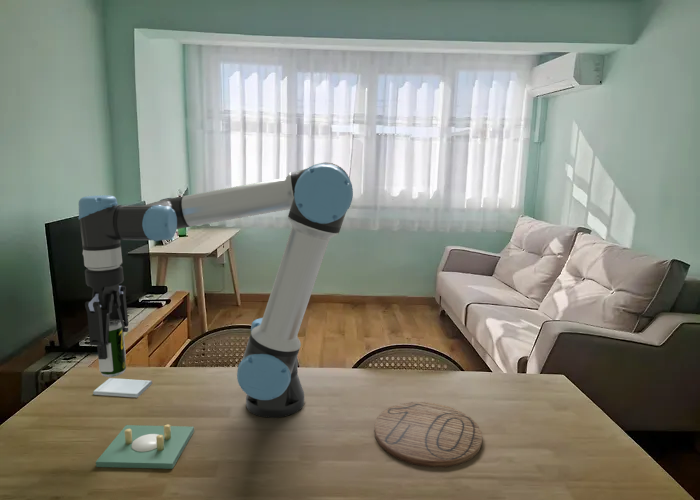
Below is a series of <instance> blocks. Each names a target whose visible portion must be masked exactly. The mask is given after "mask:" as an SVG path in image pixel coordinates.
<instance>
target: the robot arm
mask: <svg viewBox="0 0 700 500" xmlns="http://www.w3.org/2000/svg"><path fill="white" fill-rule="evenodd" d="M353 195H354V189H353V184H352V182H351V179H350V177H349V175H348V173H347V172H346V171H345V169H344V168H342V167H341V166H339V165H338V164H335V163H333V162H318V163H316V164H313V165H311V166H308V167H307V168H305V169H301V170H300V169H299V170H297V171H296V170H295V171H290V172H288V174H287V176H285V177H281V178H276V179H271V180H265V181H260V182H254V183H249V184H248V183H247V184H244V185H238V186H232V187H231V186H230V187H226V188H221V189H216V190H208V191H205V192H198V193H193V194H189V195H188V194H187V195H184V196H177V197H166V198H162V199H160V200H158V201H154V202H151V203H147V204H144V205H122V204H119V203H118V199H117V198H116V196H114V195H109V194H108V195H107V194H106V195H105V194H104V195H101V194H100V195H87V196H83V197H81V198H80V199H79V200H78V221H79V226H80V234H81V236H80V237H81V242H82V243H81V244H82V256H83V265H84V267H86V269H85V270H84V276H85V277H84V278H85V285H87V287H90V288H91V289H92V296H91V298H92V299H91V300H90V301H85V303H84V306H85V310H86V315H87V326H88V336H89V337H88V338H89V345H90V346H95V347H96V348H97V349H96V350H97V358H98V370H99V372H100V373H101V372H112V371H113V361H112V351H111V343H108V336H109V319H118V320H120V321H121V324H122V328H123V339H124V340H125V333H128V332H129V317H128V306H127V297H126V293H127V287H126V285H120V284H122V283H123V282H124V281H125V278H124V267H123V266H122V264H123V256H122V255H123V254H122V245H121V241H153V242H159V241H168V240H172V239H173V238H174V237H175V235H176V233H177V230H179V229H185V228H191V227H195V226H201V225H206V224H212V223H218V222H224V221H230V220H235V219H241V218H248V217H254V216H259V215H264V214H265V215H266V214H269V213H277V212H282V211H288V210H289V212H288V215H287V218H288V220H289V223H290V225H291V229H290V232H289V234H288V238H287V241H286V245H285V248H284V251H283V254H282V257H281V259H280V263H279V266H278V269H277V272H276V275H275V279H274V282H273V284H272V289H271V291H270V295H269V297H268V301H267V303H266V307H265V310H264V313H263V316H262V317H259V318H256V319H254V320H253V321H251V327H250V334H249V338H248V341H247V344H246V348H245V350H244V353H243V356H242V359H241V361H240V362H239V364H238V365H237V369H236V371H237V373H236V380H237V383H238V386H239V387H240V389H241V390H242V391H243V392H244V393H245V395H246V396H245V405H246V409H247V411H249V412H250V413H251V414H253V415H255V416H257V417H261V418H274V419H275V418H282V417H283V418H284V417H287V416H290V415H293V414H296V413H297V412H298V411H300V410H301V409H302V408H303V407H304V405H305V392H304V388H303V385H302V383H301V380H300V378H299V374H298V368H299V367H298V354H299V353H300V348H301V346H302V343H301V341H300V339H299V337H298V334H299V331H300V328H301V326H302V325H301V324H302V322H303V319H304V316H305V313H306V310H307V307H308V304H309V302H310V298H311V297H312V296H311V295H312V293H313V291H314V287H315V284H316V280H317V278H318V275H319V272H320V269H321V266H322V264H323V263H322V262H323V260H324V257H325V254H326V251H327V248H328V245H329V242H330V240H331V239H332V238H333V237H335V236H337V235H339V234H340V232H341V228H342V226H343V222H344V220H345V216H346V213H347V212H348V210H349V209H350V207H351V205H352V203H353ZM124 349H125V350H126V343H125V341H124ZM125 360H127V353H126V352H125Z"/></svg>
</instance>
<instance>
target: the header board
mask: <svg viewBox="0 0 700 500" xmlns="http://www.w3.org/2000/svg"><path fill="white" fill-rule="evenodd" d="M194 432H195V426H184V425H183V426H181V425H180V426H179V425H171V424H165V425H138V424H137V425H136V424H135V425H133V424H126V425H125V426H124V427H123V428H122V430H120V432H119V433H118V434H117V436H115V438H114V439H113V440H112V442H111V443H110V444H109V445H108V446H107V447H106V449H105V450H104V451H102V452H103V453H102V454H101V455H100V456H99V457H98V458H97V460H95V467H96V468H121V469H122V468H124V469H126V468H130V469H132V468H133V469H165V470H166V469H168V470H169V469H170V470H172V469H174V467H175V466H176V464H177V462H178V460H179V458H180V456H181V455H182V453H183V451H184V449H185V448H186V446H187V445H188V443H189V441H190V439H191V437H192V436H193V434H194Z"/></svg>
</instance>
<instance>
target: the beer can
mask: <svg viewBox="0 0 700 500" xmlns="http://www.w3.org/2000/svg"><path fill="white" fill-rule="evenodd" d="M123 333H124V332H123V328H122V324H121V321H120V320H118V319H109V336H108V343H111V351H112V361H113V371H112V372H100V374H101V375H102V376H103V377H105V378H106V377H107V378H115V377H117V376H121V375H123V374H124V373H125V372H126V370H127V361H126V360H127V359H126V360H125V353H126V348H125V349H124V342H125V338H124V339H123Z"/></svg>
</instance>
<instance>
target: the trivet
mask: <svg viewBox="0 0 700 500" xmlns="http://www.w3.org/2000/svg"><path fill="white" fill-rule="evenodd" d="M482 433H483V432H482V430H481V428H480V427H479V424H478V423H477V422H475V420H473V418H471V417H470V416H468V414H466V413H464V412H462V411H460V410H457V409H455V408H454V407H450V406H446V405H444V404H439V403H434V402H426V401H420V402H417V401H414V402H413V401H411V402H405V403H400V404H396V405H392V406H390V407H388V408H386V409H385V410H384V411H382V412H381V413H380V414H379V415H378V416H377V418H376V419H375V423H374V436H375V437H374V438H375V440H376V442H377V443H378V445H379V446H380V447H381V449H383V450H384V451H385V452H386V453H387V454H389V455H390V456H392V457H394V458H396V459H398V460H399V461H401V462H404V463H407V464H412V465H414V466H420V467H426V468H450V467H455V466H461V465H463V464H464V463H467V462H469V461H471V460H472V459H473V458H474V457H476V456H477V455H478V454H479V453H480V450H481V448H482V446H483V445H482V443H483V437H482V436H483V435H482Z"/></svg>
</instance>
